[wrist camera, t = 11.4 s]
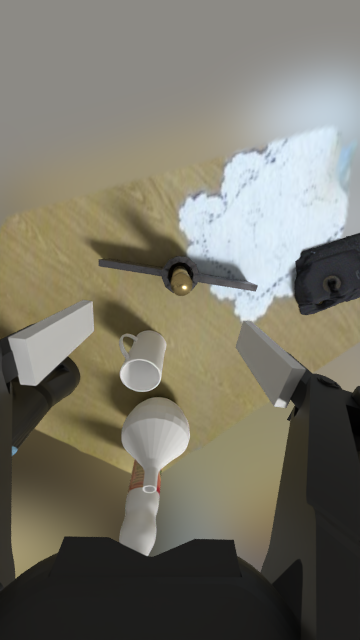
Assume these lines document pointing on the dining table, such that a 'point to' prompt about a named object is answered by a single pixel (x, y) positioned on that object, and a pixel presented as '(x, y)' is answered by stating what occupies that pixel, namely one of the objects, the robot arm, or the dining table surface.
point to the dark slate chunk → (328, 275)
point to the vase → (155, 436)
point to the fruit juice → (140, 513)
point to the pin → (181, 281)
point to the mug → (143, 361)
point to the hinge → (165, 273)
